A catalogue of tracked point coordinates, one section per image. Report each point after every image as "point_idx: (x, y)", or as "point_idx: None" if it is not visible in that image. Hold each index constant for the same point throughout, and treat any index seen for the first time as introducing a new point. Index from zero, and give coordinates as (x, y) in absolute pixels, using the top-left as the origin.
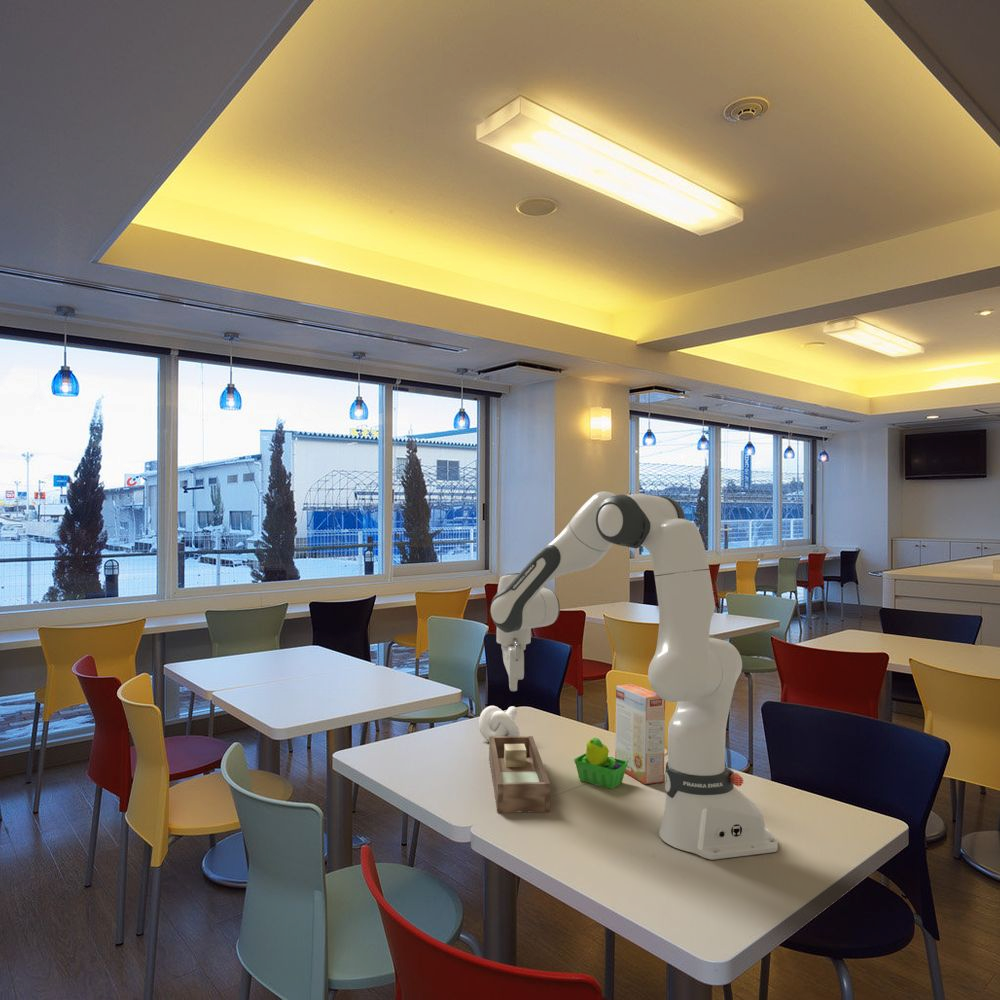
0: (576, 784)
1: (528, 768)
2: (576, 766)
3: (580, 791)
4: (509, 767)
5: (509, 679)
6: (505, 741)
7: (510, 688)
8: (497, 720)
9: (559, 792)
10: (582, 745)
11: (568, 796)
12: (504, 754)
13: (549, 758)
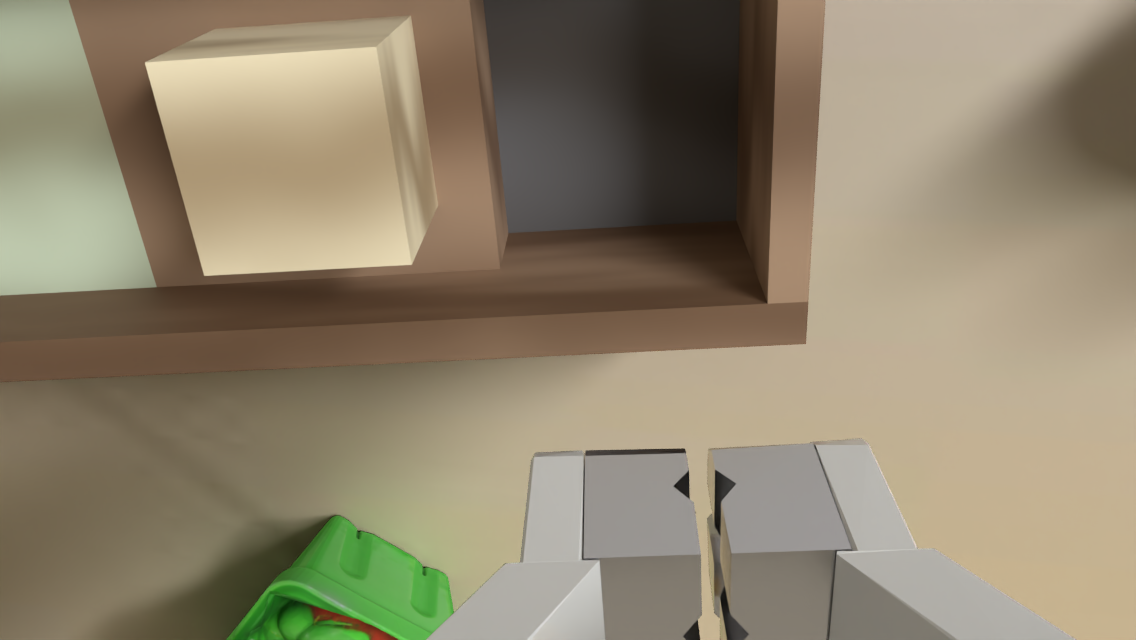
0: (261, 489)
1: None
2: (301, 560)
3: (145, 498)
4: None
5: (899, 605)
6: (769, 47)
7: (535, 484)
8: None
9: (93, 384)
10: (1048, 601)
11: (40, 428)
12: (349, 31)
13: (779, 374)
